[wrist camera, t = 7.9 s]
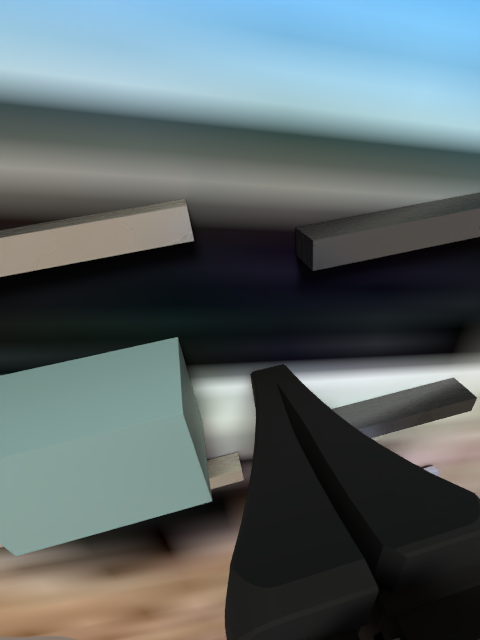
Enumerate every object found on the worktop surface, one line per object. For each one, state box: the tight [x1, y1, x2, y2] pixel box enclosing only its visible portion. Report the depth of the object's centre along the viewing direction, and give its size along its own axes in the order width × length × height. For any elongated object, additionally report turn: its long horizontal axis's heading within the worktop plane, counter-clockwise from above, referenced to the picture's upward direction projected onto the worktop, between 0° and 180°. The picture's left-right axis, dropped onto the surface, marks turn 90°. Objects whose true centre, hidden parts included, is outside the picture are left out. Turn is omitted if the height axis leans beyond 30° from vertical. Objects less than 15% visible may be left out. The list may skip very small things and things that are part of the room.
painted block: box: [0, 337, 212, 556], centre depth 11 cm, size 5×7×4 cm
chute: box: [0, 193, 480, 547], centre depth 12 cm, size 14×26×2 cm, turn 97°
